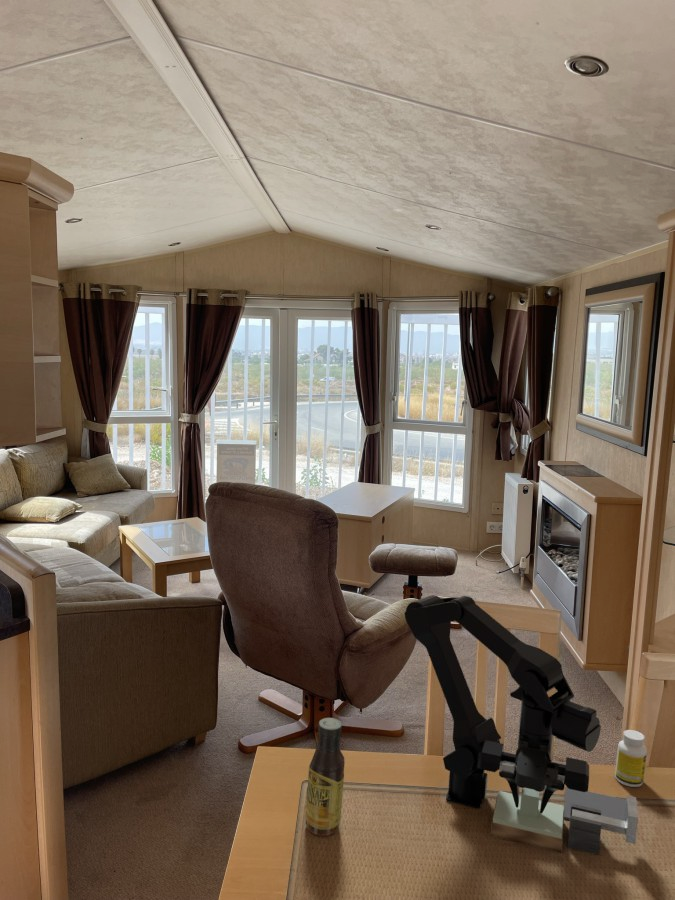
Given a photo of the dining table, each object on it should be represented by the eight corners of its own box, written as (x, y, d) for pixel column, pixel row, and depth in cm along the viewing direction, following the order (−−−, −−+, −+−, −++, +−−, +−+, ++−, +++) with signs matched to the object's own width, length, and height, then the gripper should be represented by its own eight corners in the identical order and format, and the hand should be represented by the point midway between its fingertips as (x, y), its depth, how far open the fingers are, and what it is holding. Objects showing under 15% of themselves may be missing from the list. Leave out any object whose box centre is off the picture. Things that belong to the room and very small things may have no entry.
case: (490, 835, 129) (491, 822, 129) (496, 806, 138) (497, 793, 137) (561, 853, 126) (562, 840, 125) (563, 821, 134) (564, 809, 134)
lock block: (567, 847, 127) (570, 819, 126) (568, 829, 132) (571, 802, 131) (598, 855, 126) (601, 826, 125) (598, 836, 130) (601, 809, 130)
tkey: (571, 828, 126) (573, 803, 125) (572, 808, 132) (574, 783, 131) (635, 844, 123) (638, 817, 122) (633, 822, 128) (636, 797, 128)
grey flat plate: (563, 818, 135) (563, 816, 135) (565, 788, 144) (565, 786, 144) (633, 835, 131) (633, 832, 131) (630, 802, 141) (631, 800, 141)
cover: (492, 822, 129) (494, 797, 128) (498, 794, 137) (500, 770, 137) (561, 839, 125) (563, 813, 125) (563, 809, 134) (565, 785, 133)
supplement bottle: (645, 790, 145) (651, 743, 144) (616, 785, 146) (621, 739, 145) (640, 774, 150) (645, 729, 149) (612, 770, 151) (617, 726, 150)
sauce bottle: (297, 826, 130) (301, 721, 127) (322, 811, 134) (326, 709, 131) (324, 844, 125) (329, 735, 122) (349, 828, 130) (354, 722, 127)
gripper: (475, 738, 124) (469, 823, 127) (592, 763, 118) (583, 851, 121) (484, 708, 135) (479, 787, 137) (592, 729, 129) (584, 811, 131)
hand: (529, 809), depth 131 cm, fingers open, 4 cm apart
